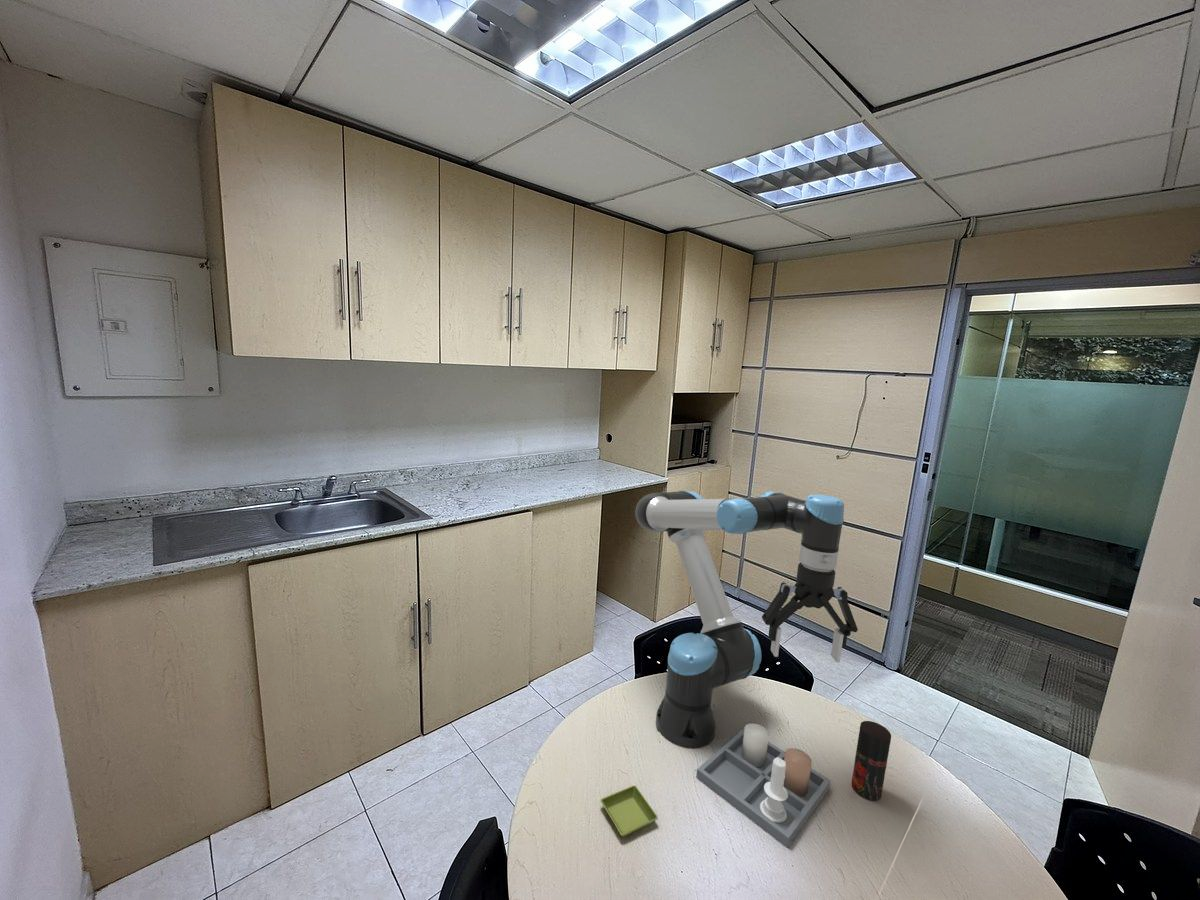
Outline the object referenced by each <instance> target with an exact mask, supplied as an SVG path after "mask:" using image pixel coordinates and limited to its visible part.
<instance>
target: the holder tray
mask: <svg viewBox="0 0 1200 900" xmlns="http://www.w3.org/2000/svg"><path fill="white" fill-rule="evenodd" d="M744 729H745V727H744V728H742V729H741V730H739V731H738V733H737V734H735V735H734V736H733V737H732V738H731V739H730V740H728V741H727V742H726V743H725V744H724V745H723V746H722V747H721V748H719V749H718V750H717V751H716V752H715V753H714V754H713V755H711V756H710V757H709V758H708V759H707V760H706V761H704V762H703V763H702V764H701V765H700V766H699V767H697V769H696V776H695V777H696V779H698V781H699V782H701V783H702V784H704V785H705V786H707V788H709V789H710V790H711V791H713V792H714V794H717V795H718V796H719V797H720V798H721V799H723V800H724V801H726V802H727V803H728V804H730V806H733V807H734V808H735V809H736V810H737V811H738V812H740V814H742V815H744V816H745V817H746V818H748V819H749V820H750V821H751V822H753V823H754V824H756V825H757V826H758V827H760V829H762V830H763V831H764V832H766V833H767V834H768V835H770V836H771V837H772V838H773V839H775V840H776V841H777V842H778V843H780V844H781V845H783V846H784V847H785V848H788V847H789V846H790V845H791V843H792V842H793V840H794V839H795V838H796V836H797V835H798V833H799V832H800V830H801V829H802V828H803V827H804V825H805V824H806V822H807V821H808V820H809V819H810V818H811V815H812V814H813V812H814V811H815V810H816V808H817V807H818V806H819V804H820V803H821V801H822V800H823V799H824V797H825V795H827V794H828V791H830V787H831V781H832V780H830V779H829V778H828V777H826V776H824V775H822V773H819V772H818V771H817V770H814V769H813V768H811V772H810V779H809V786H808V792H807V794H806V795H805V796H802V797H799V796H797V795H796V794H794V793H793V792H791V791H790V790H788V789H787V788H785V787H784V786H783V787H784V788H785V789H786V791H787V793H788V798H787V799H786V800H784V801H781V803H782V804H783V807H784V809H785V810H786V813H787V818H786V820H785V821H784V822H781V823H776V822H773V821H772V820H770V819H769V818H768V817H766V816H765V815H763V814H762V812H761V810H760V803H761V802H762V801H763V800H765V799H766V798H767V797H769V796H768V795H767V794H766V792H765V790H764V785H765V783H767V782H770V780H771V773H772V765H773V760H774V759H775V758H777V757H778V758H780V759H782V760H784V757H785V751H784V750H782V749H781V748H779V747H778V746H776V745H774V744H773V743H772V742H770V741H768V746H767V754H766V762H765V765H764V766H763V767H760V768H756V767H754V766H753V765H751V764H750V763H748V762H747V761H746V760H744V759H743V758H742V757H741V753H742V745H743V737H744Z"/></svg>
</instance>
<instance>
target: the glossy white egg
mask: <svg viewBox="0 0 1200 900" xmlns="http://www.w3.org/2000/svg"><path fill="white" fill-rule="evenodd" d="M744 728H745V729H744V737H743V745H742V753H741V757H742V758H743V759H744V760H746V761H747V762H748V763H750V764H751V765H753V766H754V767H756V768H760V767H763V766H764V765H765V762H766V754H767V746H768V742H769V739H770V734H769V732H768V730H767V728H765V727H764V726H762V725H761V724H758V723H748V724H745V726H744Z"/></svg>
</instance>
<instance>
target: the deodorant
mask: <svg viewBox="0 0 1200 900" xmlns="http://www.w3.org/2000/svg"><path fill="white" fill-rule="evenodd" d="M891 740H892V733H891V731H890V730H889V729H887V728H886V727H885V726H883V725H882V724H880V723H878V722H875V721H872V720H864V721H861V722H860V727H859V732H858V738H857V745H856V751H855V757H854V763H853V770H852V776H851V782H850V785H851V788H852V789H853V791H854V792H855V793H856V794H857V795H858V796H860V797H861V798H862V799H865V800H867V801H869V802H879V801H880V800H881V798H882V794H883V788H884V782H885V778H886V777H885V776H886V770H887V765H888V758H889V754H890V753H889V752H890V746H891Z"/></svg>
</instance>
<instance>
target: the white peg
mask: <svg viewBox="0 0 1200 900" xmlns="http://www.w3.org/2000/svg"><path fill="white" fill-rule="evenodd" d="M785 771H786V762H785V761H784V760H782V759H780V758H778V757H777V758H775V759H774V760H773V765H772V773H771V780H770V782H767V783H765V785H764V790H765V792H766V794H767V795H768V796H769V797H767V798H766V799H765V800H763V801H762V802H761V803H760V810H761V812H762V814H763V815H765V816H766V817H768V818H769V819H770V820H772V821H773V822H776V823H781V822H784V821H785V820H786V818H787V813H786V810H785V809H784V807H783V804H782V803H781V801H784V800H786V799H787V798H788V793H787V791H786V789H785V788H784V787H783V785H784V779H785Z"/></svg>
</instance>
